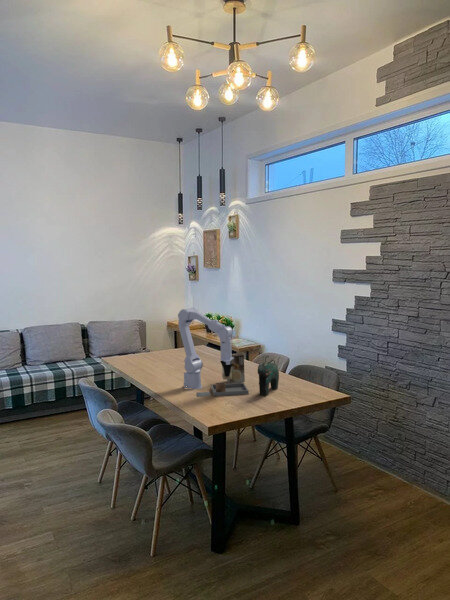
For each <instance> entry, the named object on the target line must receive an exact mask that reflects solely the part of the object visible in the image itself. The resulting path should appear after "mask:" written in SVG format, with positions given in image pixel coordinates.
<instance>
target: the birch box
mask: <svg viewBox="0 0 450 600" xmlns="http://www.w3.org/2000/svg"><path fill="white" fill-rule="evenodd" d="M221 371H222V373H221V374H222V375H221V376H222V380H223V381H225V380H226V381H227V379H232V367H231V370H230V375H229V377H225V373H224V368H223V366H222V365H221Z"/></svg>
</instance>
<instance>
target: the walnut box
mask: <svg viewBox="0 0 450 600" xmlns="http://www.w3.org/2000/svg"><path fill="white" fill-rule="evenodd" d="M225 384H226V383H225V382H216V383H215V385H216V392H225Z"/></svg>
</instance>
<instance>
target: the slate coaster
mask: <svg viewBox="0 0 450 600" xmlns="http://www.w3.org/2000/svg"><path fill="white" fill-rule="evenodd" d="M211 395H212V394H211V391H202V392H201V391H200V392H196V396H197V397H196V398H199V397H200V398H201V397H211Z"/></svg>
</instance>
